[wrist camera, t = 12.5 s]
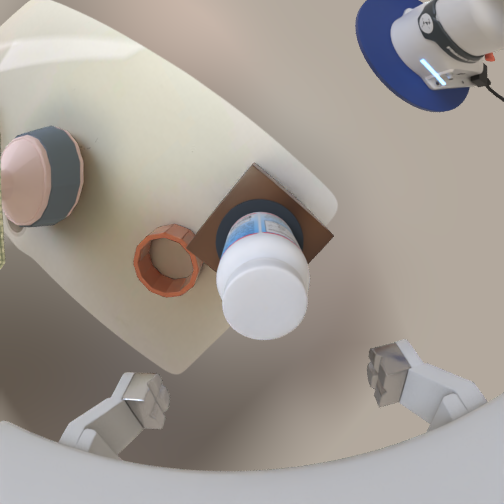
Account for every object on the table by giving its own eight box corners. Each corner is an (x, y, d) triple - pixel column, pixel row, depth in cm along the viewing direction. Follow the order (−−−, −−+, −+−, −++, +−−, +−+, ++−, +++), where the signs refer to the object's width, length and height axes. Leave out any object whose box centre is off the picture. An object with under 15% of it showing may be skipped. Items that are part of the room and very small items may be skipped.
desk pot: (196, 219, 45) (189, 227, 40) (209, 278, 48) (204, 293, 43) (139, 230, 46) (126, 239, 41) (155, 285, 49) (144, 299, 44)
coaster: (319, 237, 26) (321, 239, 25) (264, 296, 28) (264, 299, 27) (254, 180, 24) (254, 181, 23) (199, 247, 26) (198, 249, 26)
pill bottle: (233, 278, 26) (220, 355, 16) (222, 215, 24) (196, 261, 14) (297, 270, 26) (321, 343, 15) (290, 206, 24) (317, 245, 14)
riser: (302, 203, 44) (334, 236, 26) (261, 248, 46) (265, 308, 28) (254, 162, 42) (252, 164, 24) (214, 210, 44) (185, 248, 26)
